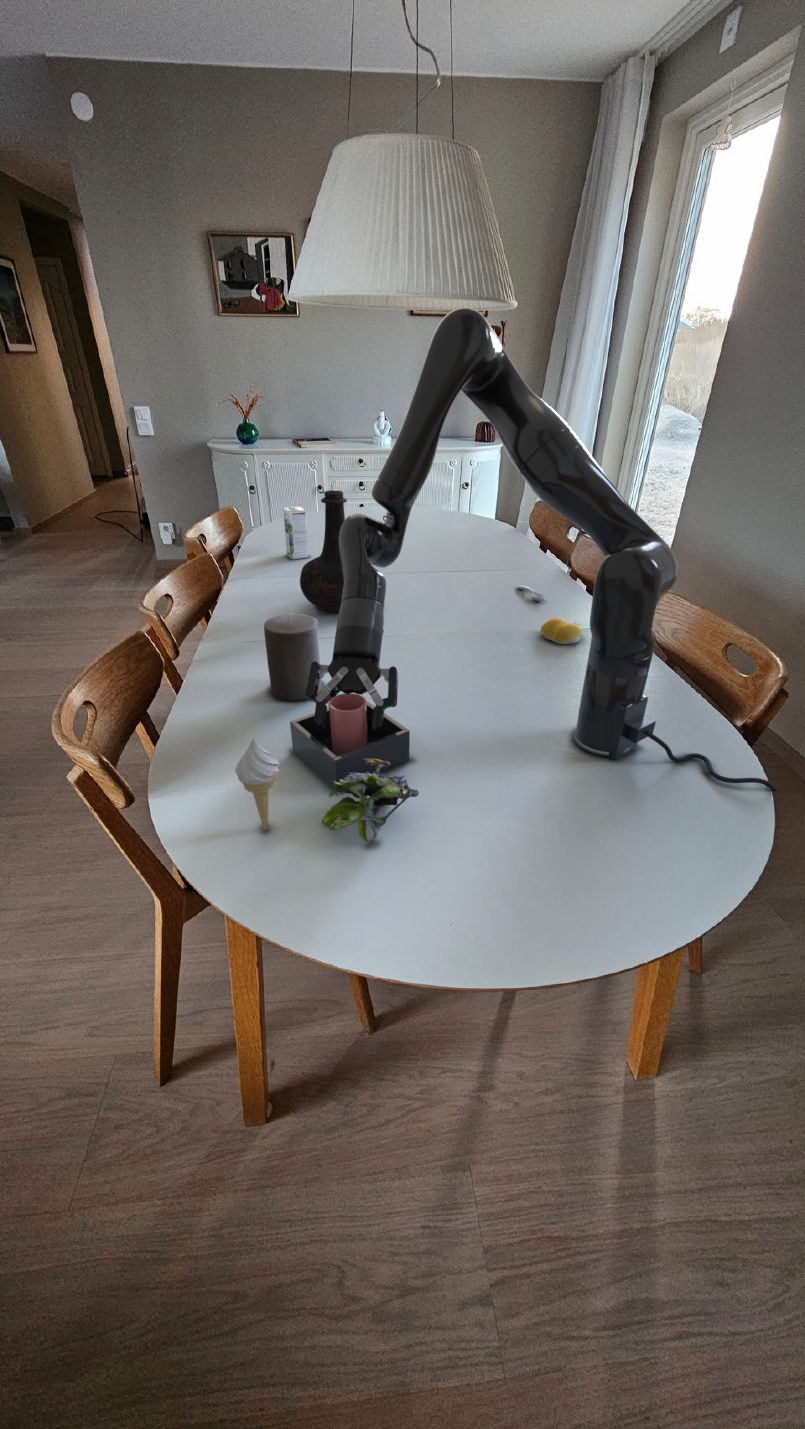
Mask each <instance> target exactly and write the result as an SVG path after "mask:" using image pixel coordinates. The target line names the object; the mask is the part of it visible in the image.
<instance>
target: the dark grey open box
mask: <svg viewBox="0 0 805 1429" xmlns="http://www.w3.org/2000/svg"><path fill="white" fill-rule="evenodd" d="M366 707H367V740H368V744H367V745H365V746H362V747H360V748H358V749H355V750H353V751H350V752H348V753H345V754H343V755H340V756H338V757H337V756H336V755H334V754H333V753H332V747H331V732H330V717H329V707H327V713H326V720H325V727H324V729H320V728H318V726H317V724H316V723H315V721H314V716H315V712H314V713H313V712H312V713H310V714H307V715H305V716H302V717H298V718H296V719H293V720H290V721H289V724H290V727H289V728H290V736H291V744H292V752H294V753H295V754H296V755H297V756H298V757H299V758H300V759H301V760H302V761H303V762H305V763H306V764H307V765H308V766H309V767H310V768H311V769H312V770H313V771H314V772H315V773H316V774H317V775H319V777H321V778H322V779H323V781H325V782H326V783H327V784H328V785H329V786H330V787H332V788H333V790H334V789H335V788H336V786H335V785H334V782H337V783H339V784H340V779H342V780H344V781H346V780H345V779H344V778H346V777H347V775H350V774H349V772H350V773H353V772H355V773H356V772H357V773H361V774H362V773H365V774H367V773H366V772H368V773H369V774H373V772H374V773H375V772H376V767H375V765H368V764H367V763H365V762H363V759H364V758H372V759H379V760H385V761H388V762H389V763H390V766H388V767H382V768H380V769H379V773H380V774H382V773H384V772H385V771H388V770H390V769H392V768H394V767H397V766H399V765H401V764H404V763H406V762H409V761H410V747H411V746H410V742H411V740H410V737H411V735H410V734H411V732H410V729H408V728H407V727H405V726H403V725H402V724H401V723H399V722H398V721H396V720H395V719H394V718H392V717H390V716H389V715H388V714H387V713H385V712H384V717H383V727H382V728H381V730H380V729H378V733H373V732H372V720H373V711H374V707H376V705H374V704H372V703H371V702H369V701H368V700H366Z"/></svg>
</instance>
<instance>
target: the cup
mask: <svg viewBox="0 0 805 1429" xmlns="http://www.w3.org/2000/svg"><path fill="white" fill-rule="evenodd" d="M366 701H367V699H366V698H365V697H364V696H362V695H361V694H356V693H339V694H337V695H336V696H334V697H333V698H332V699H330V701H329V702H328V708H329V717H330V732H331V747H332V753H333V754H334V755H336V756H337V757H338V756H340V755H343V754H345V753H348V752H350V751H353V750H355V749H358V748H360V747H362V746H365V745H367V744H368V740H367V707H366Z"/></svg>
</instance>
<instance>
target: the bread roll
mask: <svg viewBox="0 0 805 1429" xmlns="http://www.w3.org/2000/svg"><path fill="white" fill-rule="evenodd" d="M582 632H583V631H582V628H581V627H580V626H579V625H577V624H576V623H572V622H571V623H570V622H568V621H567V620H565V619H564V618H561V617H553V618H550V619H548V620H547V621H546V622H544V623H543V624H542V625H541V626H540V633H541V635H542V636H543V638H545V639H546V640H549V641H552V642H554V643H556V644H558V645H572V644H575V643H578V642H579V641H580V640H581V638H582V634H583V633H582Z"/></svg>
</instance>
